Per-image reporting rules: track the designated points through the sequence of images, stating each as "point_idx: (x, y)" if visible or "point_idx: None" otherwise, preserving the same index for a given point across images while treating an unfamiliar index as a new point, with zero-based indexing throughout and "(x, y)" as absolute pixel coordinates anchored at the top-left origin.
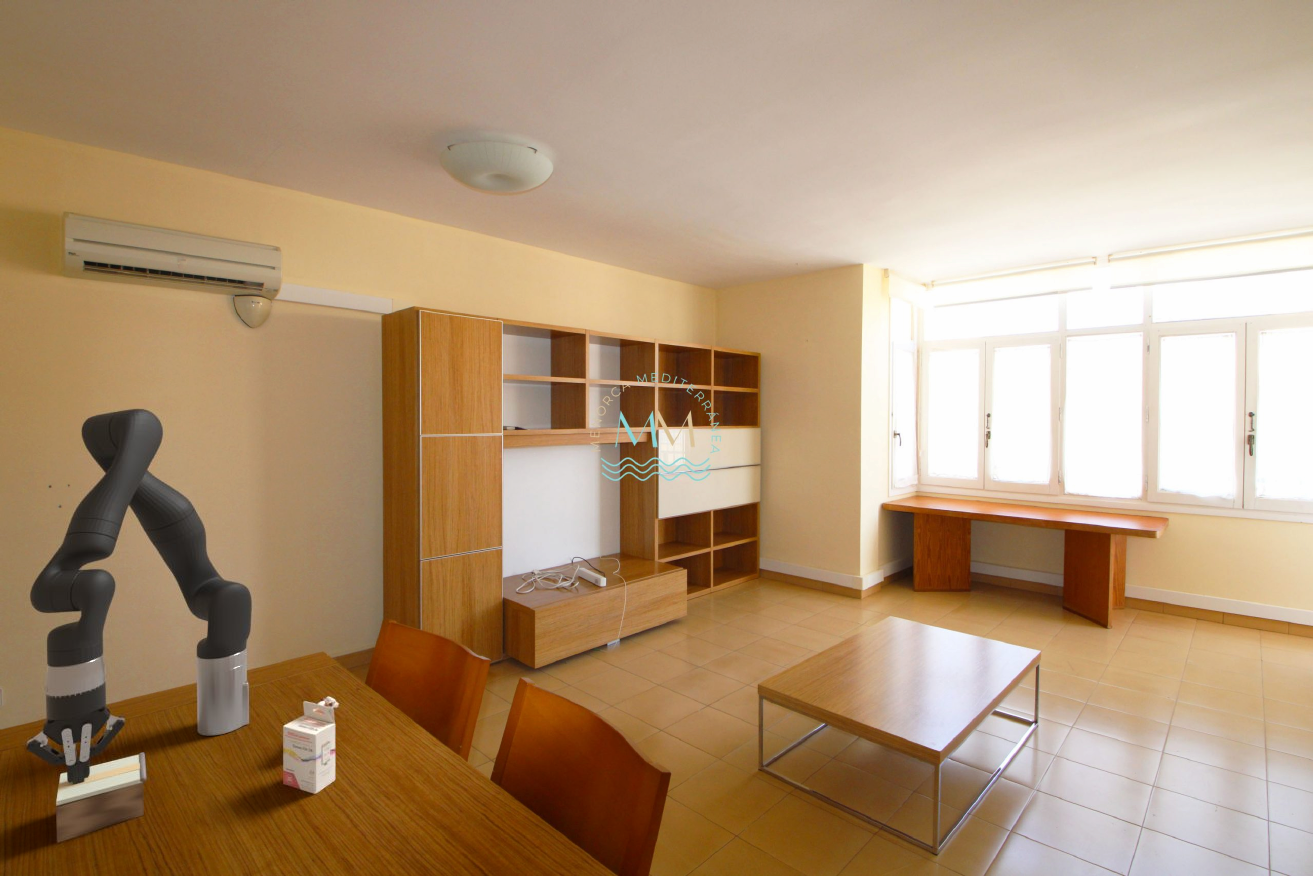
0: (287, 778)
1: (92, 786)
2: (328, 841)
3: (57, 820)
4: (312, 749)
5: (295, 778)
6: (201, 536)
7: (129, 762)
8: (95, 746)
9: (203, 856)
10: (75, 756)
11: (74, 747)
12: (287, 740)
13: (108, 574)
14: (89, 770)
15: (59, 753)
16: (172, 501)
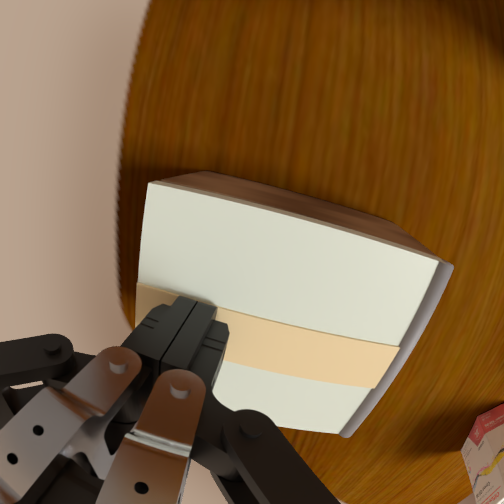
0: (478, 430)
1: (227, 390)
2: (391, 500)
3: None
4: (476, 498)
5: (474, 443)
6: None
7: (386, 311)
8: (219, 467)
9: (322, 478)
10: (132, 431)
11: (105, 463)
12: (496, 482)
13: None
14: (217, 376)
15: (51, 383)
16: None
